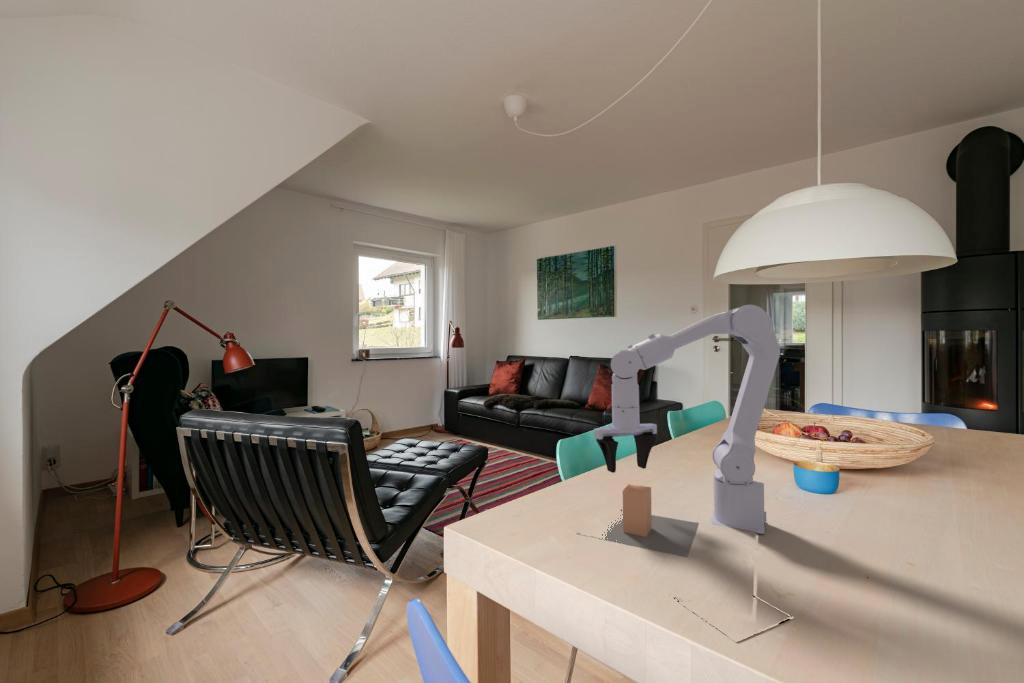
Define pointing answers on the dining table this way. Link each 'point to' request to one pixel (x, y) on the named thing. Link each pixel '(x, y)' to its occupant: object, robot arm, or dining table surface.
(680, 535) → the charcoal mat
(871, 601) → the dining table surface
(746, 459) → the robot arm
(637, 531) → the terracotta block
